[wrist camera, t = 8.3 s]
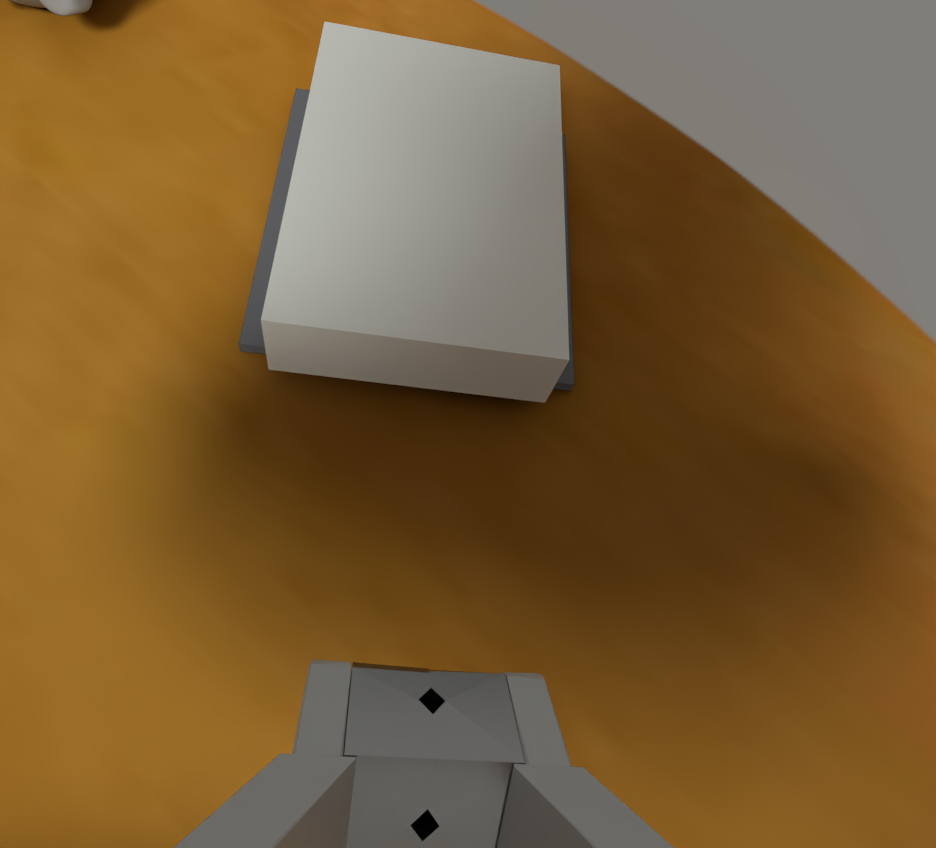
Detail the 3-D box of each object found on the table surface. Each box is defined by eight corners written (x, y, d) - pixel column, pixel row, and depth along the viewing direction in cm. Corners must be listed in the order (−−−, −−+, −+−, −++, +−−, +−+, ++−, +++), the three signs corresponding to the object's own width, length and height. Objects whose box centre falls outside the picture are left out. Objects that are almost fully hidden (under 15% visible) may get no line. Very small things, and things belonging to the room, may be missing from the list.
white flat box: (260, 320, 18) (324, 21, 23) (269, 374, 20) (325, 91, 25) (569, 359, 19) (559, 65, 24) (542, 406, 21) (539, 128, 26)
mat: (240, 350, 20) (239, 343, 20) (296, 97, 26) (296, 88, 25) (570, 390, 22) (574, 384, 21) (561, 142, 27) (564, 134, 27)
